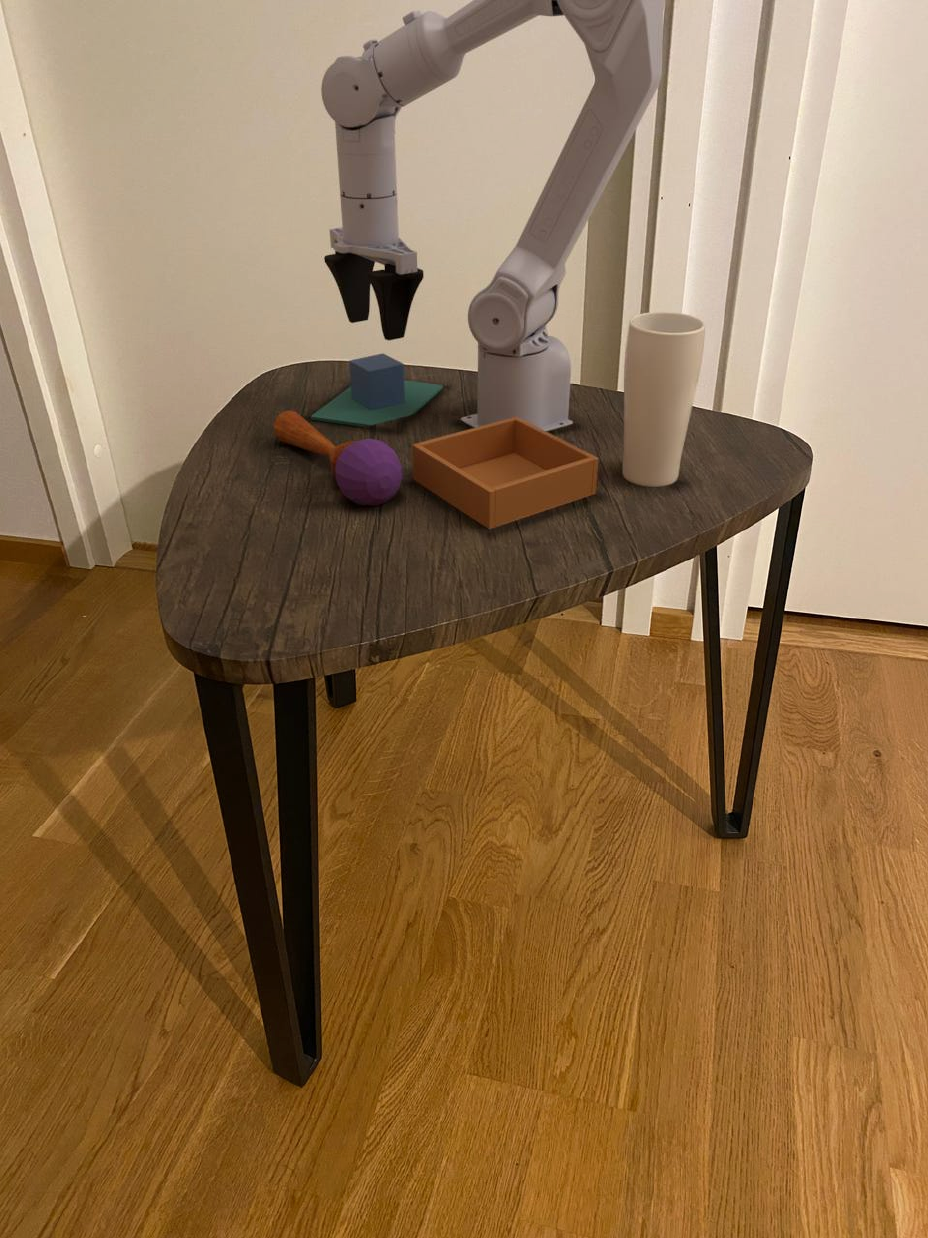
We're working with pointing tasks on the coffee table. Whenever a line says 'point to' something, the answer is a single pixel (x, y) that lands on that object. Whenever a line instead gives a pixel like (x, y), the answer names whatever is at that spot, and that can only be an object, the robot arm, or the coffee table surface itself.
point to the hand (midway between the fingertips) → (376, 329)
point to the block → (377, 381)
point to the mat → (359, 415)
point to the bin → (504, 471)
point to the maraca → (348, 460)
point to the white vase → (659, 393)
